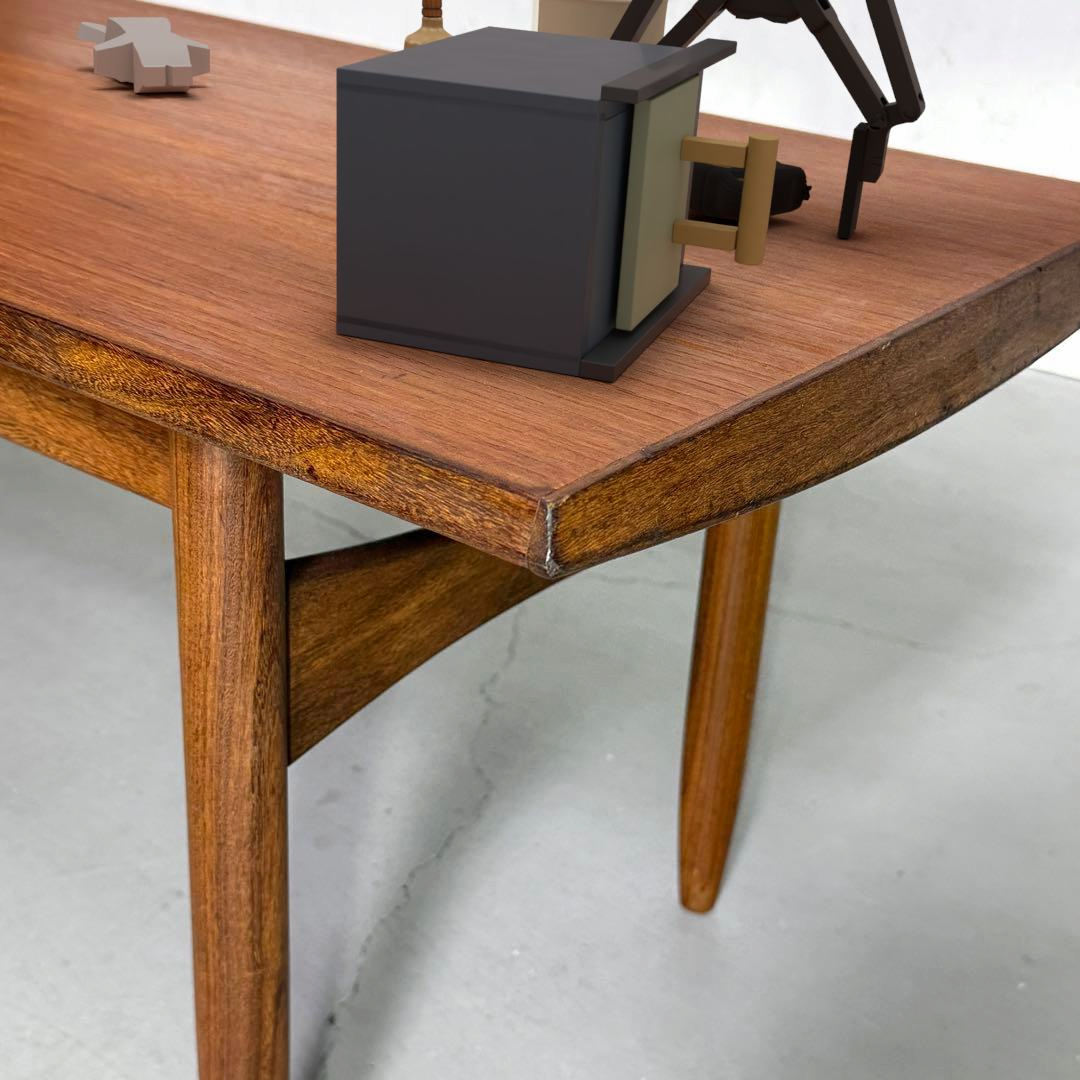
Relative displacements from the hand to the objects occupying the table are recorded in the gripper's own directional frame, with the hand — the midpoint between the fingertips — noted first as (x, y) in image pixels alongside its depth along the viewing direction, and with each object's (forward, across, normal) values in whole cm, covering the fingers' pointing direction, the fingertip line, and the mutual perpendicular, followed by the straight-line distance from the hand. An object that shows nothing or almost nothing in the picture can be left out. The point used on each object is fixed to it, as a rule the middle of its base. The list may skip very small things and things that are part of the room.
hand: (739, 217), depth 94 cm
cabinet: (0, +6, +24) cm, 25 cm away
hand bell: (+1, +32, -24) cm, 40 cm away
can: (0, +14, -12) cm, 18 cm away
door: (-1, -3, +25) cm, 25 cm away
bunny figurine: (+1, +56, -18) cm, 58 cm away
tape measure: (0, 0, 0) cm, 0 cm away
